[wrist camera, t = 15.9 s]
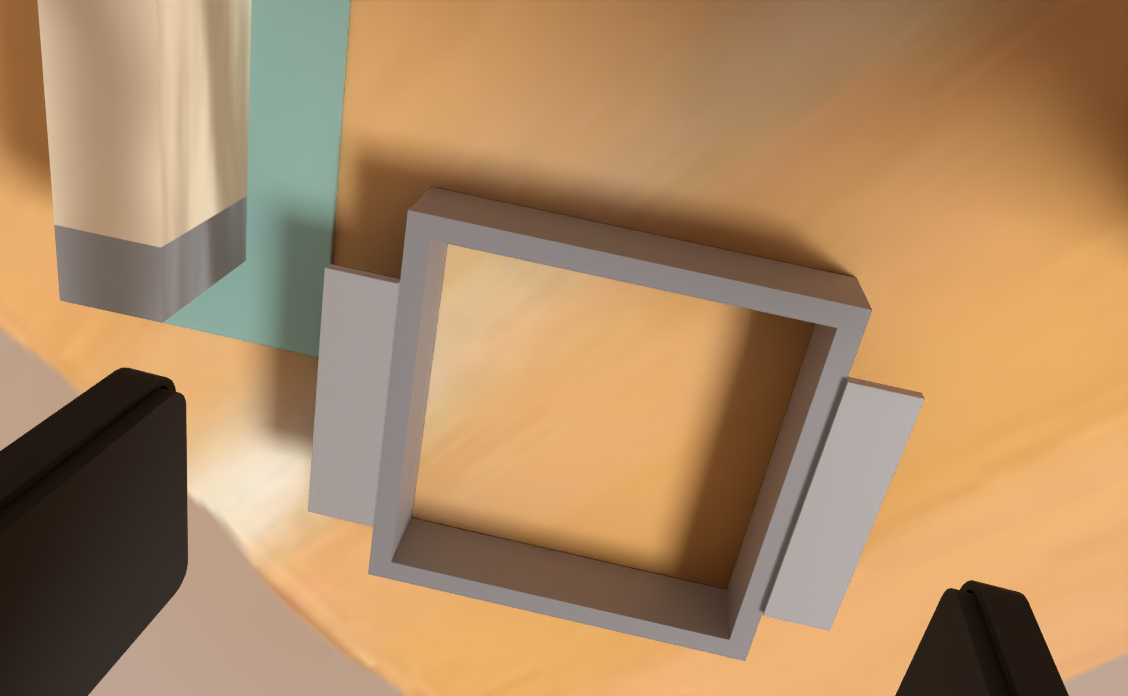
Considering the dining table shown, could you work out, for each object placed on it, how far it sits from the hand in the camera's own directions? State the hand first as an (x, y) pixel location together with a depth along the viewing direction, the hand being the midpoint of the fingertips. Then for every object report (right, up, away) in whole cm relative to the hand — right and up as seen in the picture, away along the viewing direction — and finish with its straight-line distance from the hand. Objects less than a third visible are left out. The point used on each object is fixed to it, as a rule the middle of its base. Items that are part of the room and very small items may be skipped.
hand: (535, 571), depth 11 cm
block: (-15, +12, +27) cm, 33 cm away
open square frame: (+2, 0, +30) cm, 31 cm away
